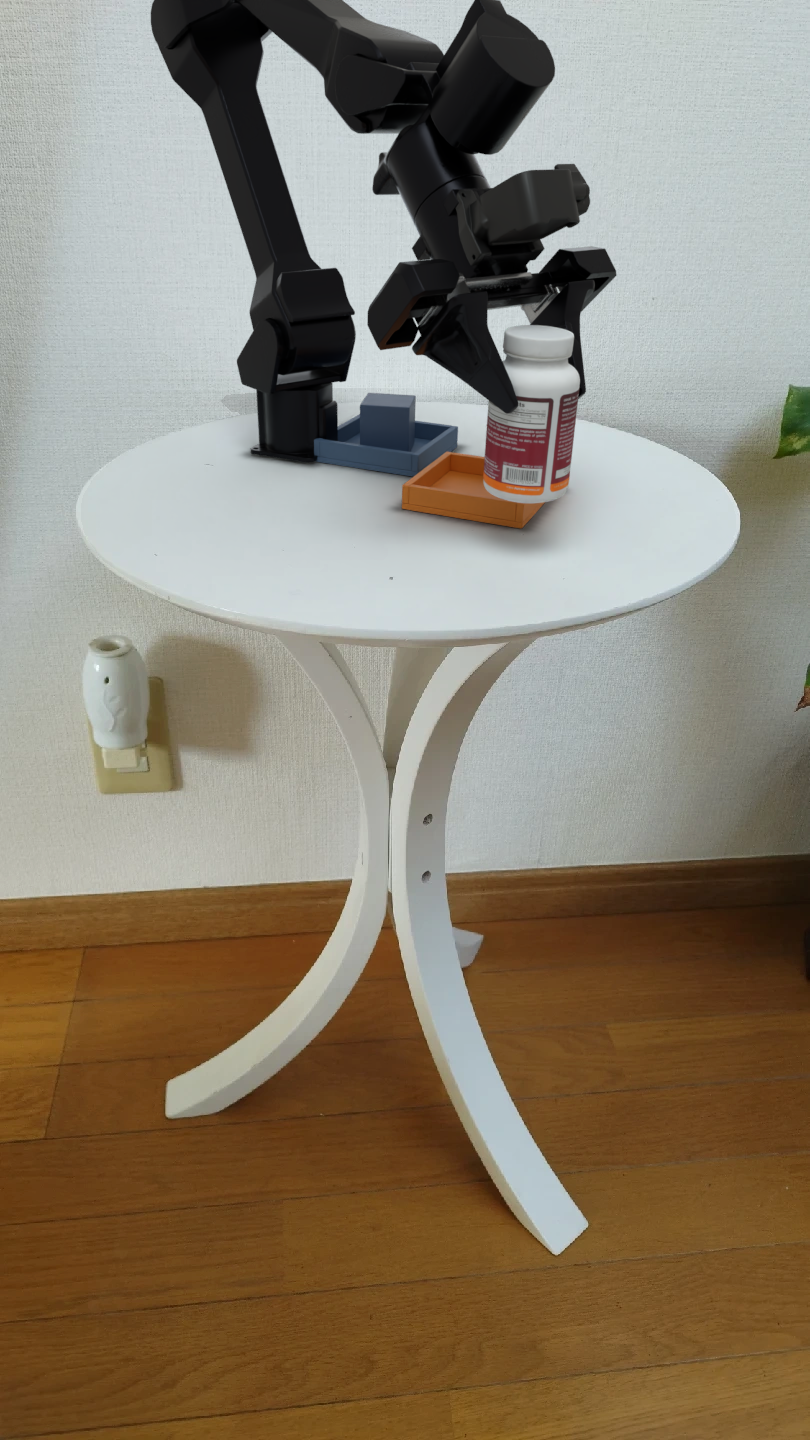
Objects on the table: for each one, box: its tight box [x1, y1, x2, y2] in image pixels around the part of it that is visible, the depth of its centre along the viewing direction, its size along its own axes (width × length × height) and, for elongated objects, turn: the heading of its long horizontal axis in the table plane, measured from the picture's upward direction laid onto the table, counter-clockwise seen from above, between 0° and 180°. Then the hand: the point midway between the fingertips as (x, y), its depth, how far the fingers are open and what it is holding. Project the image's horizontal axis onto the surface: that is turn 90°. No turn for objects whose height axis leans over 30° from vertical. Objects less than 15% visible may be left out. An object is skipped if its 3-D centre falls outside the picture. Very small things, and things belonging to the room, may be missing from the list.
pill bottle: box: [483, 324, 580, 503], centre depth 71 cm, size 6×6×11 cm
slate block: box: [359, 392, 417, 452], centre depth 94 cm, size 4×4×4 cm
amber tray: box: [401, 451, 546, 529], centre depth 84 cm, size 10×10×2 cm
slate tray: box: [314, 413, 459, 478], centre depth 94 cm, size 10×10×2 cm
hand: (547, 403), depth 69 cm, fingers closed on pill bottle, 6 cm apart
